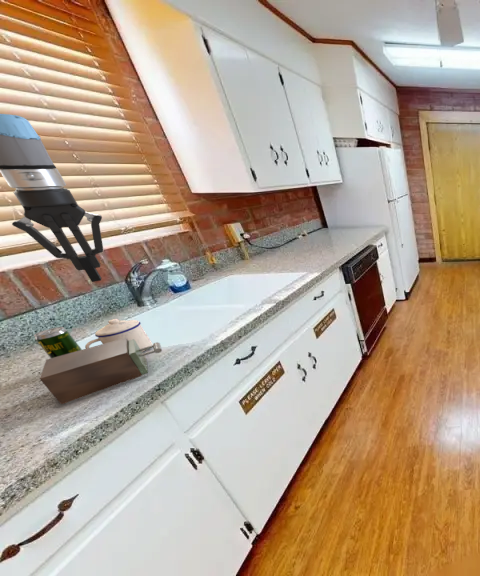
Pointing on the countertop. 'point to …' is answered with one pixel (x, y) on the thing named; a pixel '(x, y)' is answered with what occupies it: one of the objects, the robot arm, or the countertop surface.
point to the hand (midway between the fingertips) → (96, 279)
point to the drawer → (141, 354)
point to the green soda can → (57, 342)
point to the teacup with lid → (122, 333)
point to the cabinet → (89, 370)
